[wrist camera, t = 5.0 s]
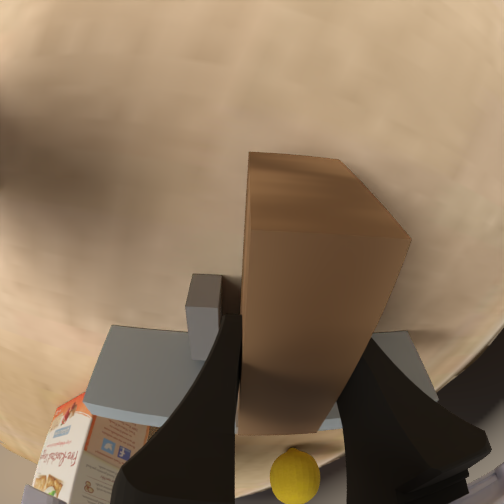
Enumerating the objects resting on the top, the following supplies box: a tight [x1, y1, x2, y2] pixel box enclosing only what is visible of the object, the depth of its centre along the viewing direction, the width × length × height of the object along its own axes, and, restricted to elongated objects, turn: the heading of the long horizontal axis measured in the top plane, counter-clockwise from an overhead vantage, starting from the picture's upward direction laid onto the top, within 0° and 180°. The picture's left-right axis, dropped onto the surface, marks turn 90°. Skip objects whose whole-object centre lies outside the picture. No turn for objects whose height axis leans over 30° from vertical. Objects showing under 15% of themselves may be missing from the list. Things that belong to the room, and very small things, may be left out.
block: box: [235, 152, 412, 435], centre depth 11 cm, size 4×10×6 cm, turn 177°
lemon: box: [270, 448, 320, 504], centre depth 26 cm, size 6×6×8 cm
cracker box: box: [32, 392, 150, 504], centre depth 15 cm, size 14×6×21 cm, turn 130°
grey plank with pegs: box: [82, 274, 438, 431], centre depth 15 cm, size 20×6×6 cm, turn 87°
